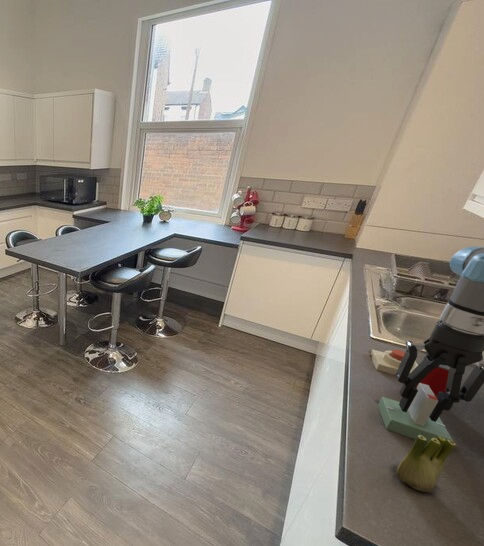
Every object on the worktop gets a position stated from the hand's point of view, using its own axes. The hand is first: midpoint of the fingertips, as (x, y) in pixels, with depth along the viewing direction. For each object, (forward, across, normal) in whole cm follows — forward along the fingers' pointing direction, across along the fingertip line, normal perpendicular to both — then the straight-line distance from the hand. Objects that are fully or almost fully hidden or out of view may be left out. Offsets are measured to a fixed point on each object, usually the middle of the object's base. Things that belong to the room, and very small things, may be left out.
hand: (416, 412), depth 73 cm
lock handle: (+1, 0, 0) cm, 1 cm away
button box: (+4, +3, +28) cm, 28 cm away
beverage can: (+4, +6, +14) cm, 16 cm away
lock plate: (+4, 0, 0) cm, 4 cm away
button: (+1, +3, +28) cm, 28 cm away
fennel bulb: (+4, -4, -19) cm, 20 cm away
